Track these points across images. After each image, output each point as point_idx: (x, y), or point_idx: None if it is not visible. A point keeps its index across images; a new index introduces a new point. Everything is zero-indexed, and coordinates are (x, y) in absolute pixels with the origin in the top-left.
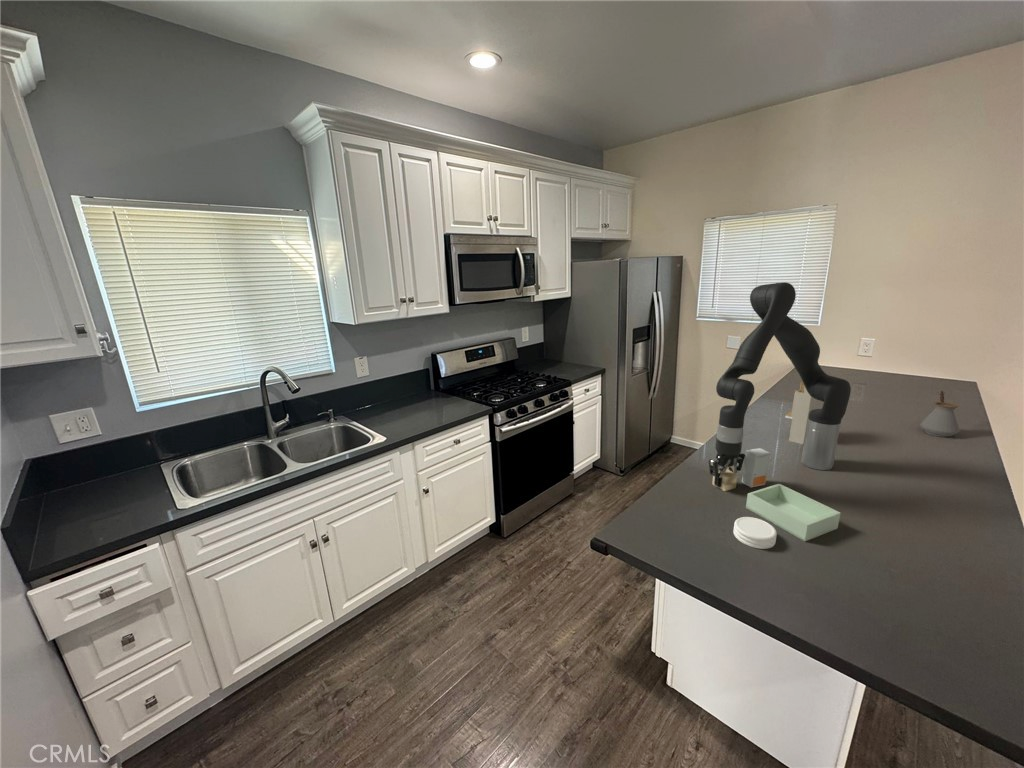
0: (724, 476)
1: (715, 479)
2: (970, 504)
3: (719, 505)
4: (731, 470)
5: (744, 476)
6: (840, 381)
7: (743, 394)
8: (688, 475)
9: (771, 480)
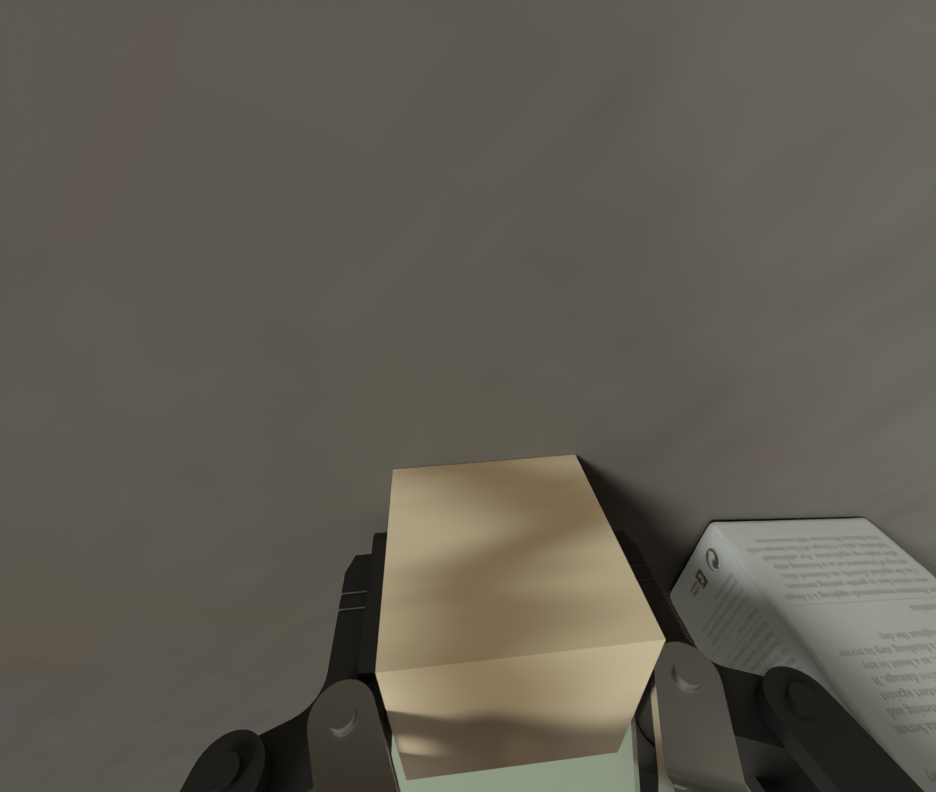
0: (408, 767)
1: (336, 642)
2: None
3: (212, 688)
4: (650, 718)
5: (750, 617)
6: None
7: None
8: (177, 101)
9: (933, 554)
